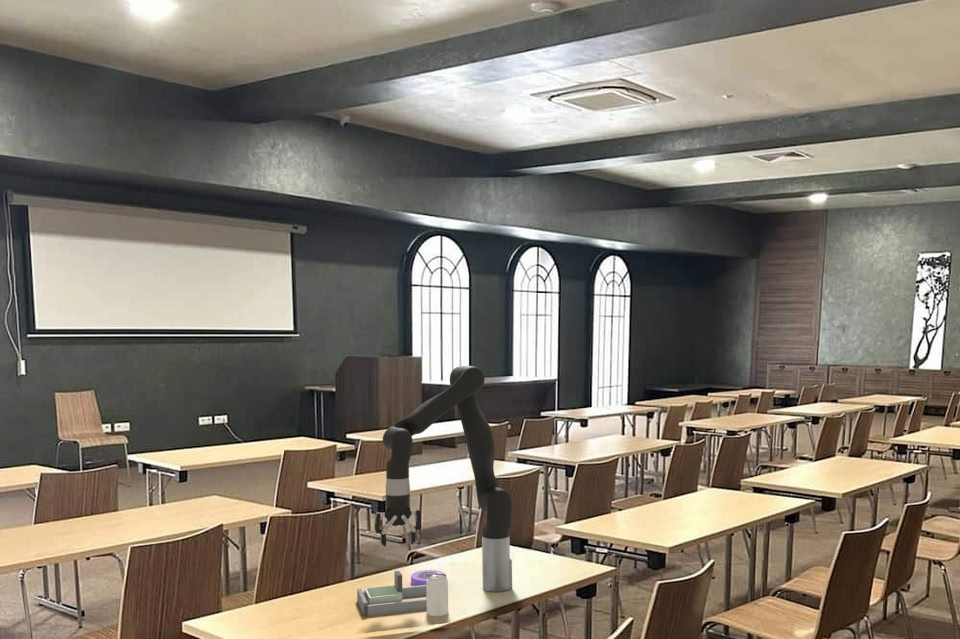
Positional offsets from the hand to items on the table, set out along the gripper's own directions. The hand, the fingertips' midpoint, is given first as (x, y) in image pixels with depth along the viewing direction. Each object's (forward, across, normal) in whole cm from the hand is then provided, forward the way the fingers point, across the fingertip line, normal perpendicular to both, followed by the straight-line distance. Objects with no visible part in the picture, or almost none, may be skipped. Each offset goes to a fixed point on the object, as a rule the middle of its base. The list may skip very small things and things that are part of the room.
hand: (398, 544), depth 237 cm
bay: (+19, 0, 0) cm, 19 cm away
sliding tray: (+18, +5, 0) cm, 19 cm away
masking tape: (+20, -14, -19) cm, 31 cm away
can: (+20, -10, +11) cm, 24 cm away
